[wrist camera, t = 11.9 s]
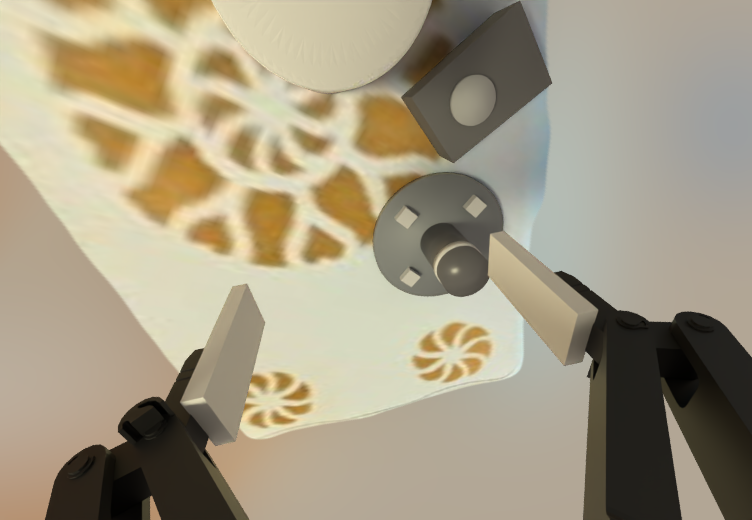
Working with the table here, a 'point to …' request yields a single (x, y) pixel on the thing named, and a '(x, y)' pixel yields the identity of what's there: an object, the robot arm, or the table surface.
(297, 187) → the table surface
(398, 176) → the table surface
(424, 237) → the grey rounded cylinder
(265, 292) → the table surface
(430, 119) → the camera body block
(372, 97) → the table surface
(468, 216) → the plate
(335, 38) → the container
